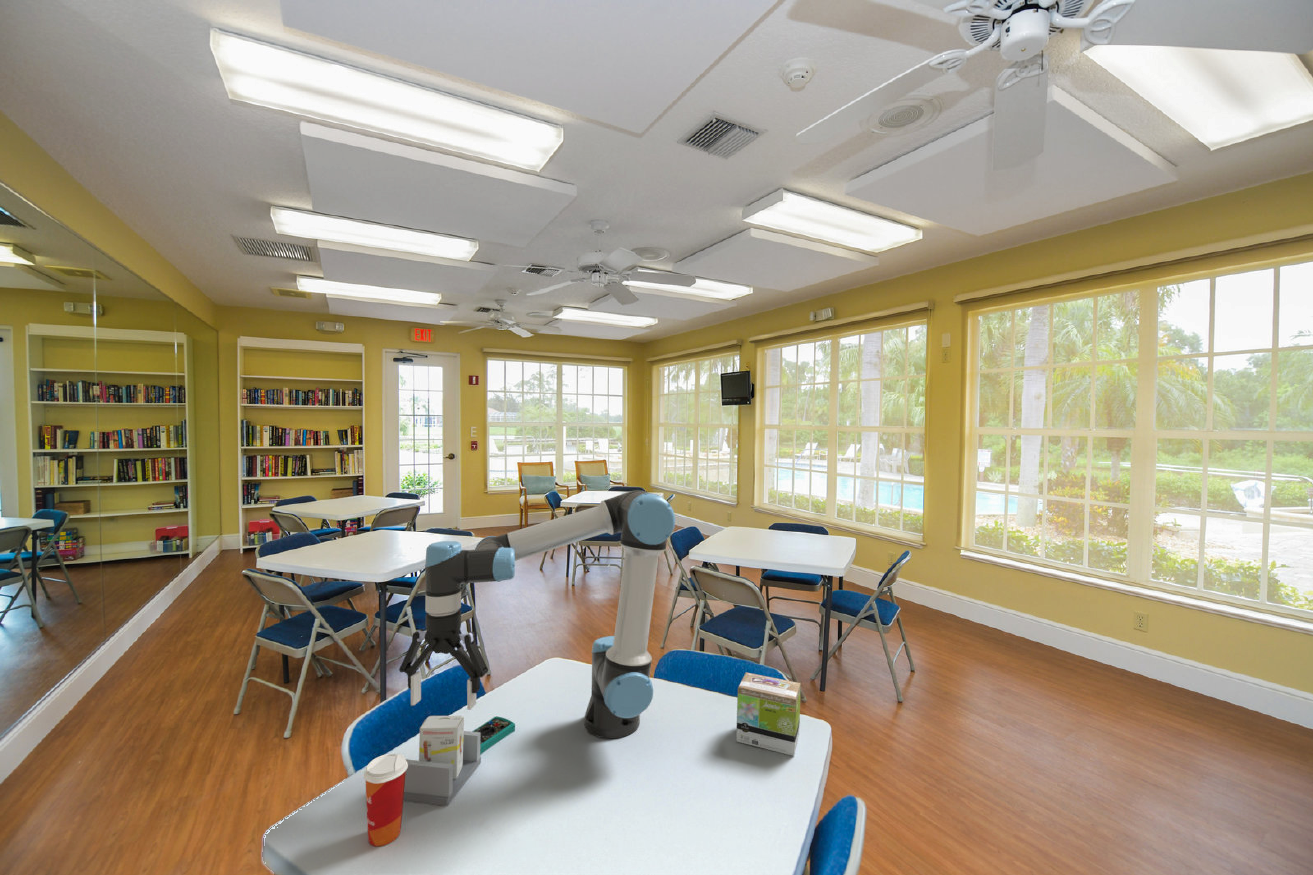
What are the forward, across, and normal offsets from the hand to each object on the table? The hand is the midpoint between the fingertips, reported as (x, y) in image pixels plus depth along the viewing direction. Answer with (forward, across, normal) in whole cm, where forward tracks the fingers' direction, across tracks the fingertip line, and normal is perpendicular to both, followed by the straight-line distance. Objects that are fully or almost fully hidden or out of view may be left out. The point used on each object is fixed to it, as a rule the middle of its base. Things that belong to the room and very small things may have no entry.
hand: (443, 704), depth 119 cm
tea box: (+19, -74, -29) cm, 82 cm away
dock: (+17, +1, 0) cm, 17 cm away
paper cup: (+17, +2, +18) cm, 24 cm away
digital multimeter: (+18, -2, -16) cm, 24 cm away
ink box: (+16, 0, 0) cm, 16 cm away
